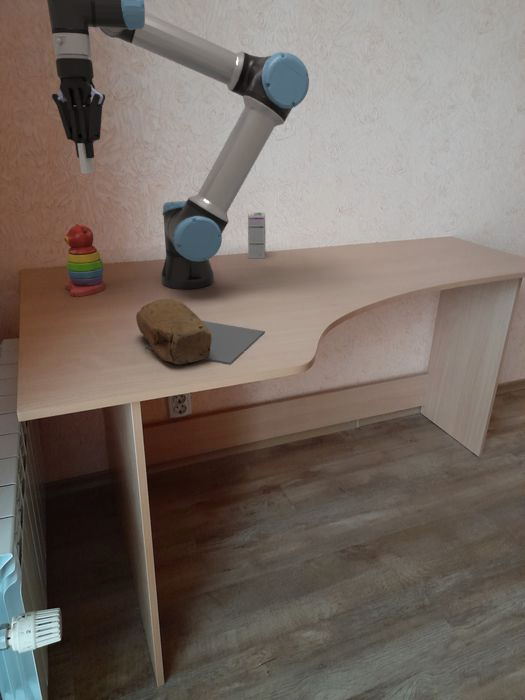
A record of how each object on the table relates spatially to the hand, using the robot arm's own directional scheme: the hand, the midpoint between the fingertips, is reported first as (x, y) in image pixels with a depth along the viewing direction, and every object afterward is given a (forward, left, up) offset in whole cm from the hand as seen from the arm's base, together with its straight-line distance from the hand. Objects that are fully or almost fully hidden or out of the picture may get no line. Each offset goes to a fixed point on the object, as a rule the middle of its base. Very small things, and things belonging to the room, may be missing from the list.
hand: (87, 172), depth 124 cm
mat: (+10, +36, -32) cm, 49 cm away
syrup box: (-61, +17, -33) cm, 71 cm away
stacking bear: (-8, -12, -33) cm, 36 cm away
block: (+10, +23, -28) cm, 38 cm away
